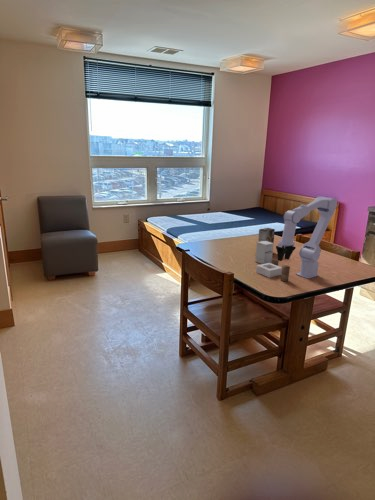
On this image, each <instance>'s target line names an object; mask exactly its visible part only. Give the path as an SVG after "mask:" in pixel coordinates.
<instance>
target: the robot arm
mask: <svg viewBox="0 0 375 500" xmlns="http://www.w3.org/2000/svg"><path fill="white" fill-rule="evenodd" d="M337 201H338V200H337V199H336V198H334V197H327V196H322V195H321V196H320V195H319V196H317V197H315V199H314V200H313V201H311V202H310V203H308V204H300V205H299V206H298V207H296V208H293V209H292V210H290V209H289V210H287V211H285V212H284V215H283V224H284V226H283V231H282V237H281V240H278V243H277V245H275V249H276V252H277V260H278V261H279V262H282V261H283V260H290V258H291V256H292V254H293V252H294V251H295V250H296V248H297V247H296V246H295V244H296V242H295V241H294V239H295V235H296V230H297V225H298V224H297V223H300V221H301V219H303V218H305V217H306V216H308V215H309V214H310V212H311V211H315V210H317V212H318V213H319V214H320V216H319V219H318V221H317V224H316V225H315V227H314V230H313V232H312V234H311V236H310V238H309V240H308V241H307V242H304V243H303V245H302V247H300V249H299V252H298V255H299V257H300V259H301V261H300V269H299V272H297V273H296V275H298V276H300V277H303V278H305V279H311V278H315V277H316V278H317V277H318V276H320V275H319V274H318V273H319V272H318V271H319V267H320V266H319V265H320V264H319V261H318V260H319V259H320V257H321V251H322V249H321V246H320V243H321V241H322V239H323V237H324V234H325V232H326V230H327V228H328V226H329V223H330V221H331V220H332V216H334V214H335V211H336V210H337V207H338V202H337Z"/></svg>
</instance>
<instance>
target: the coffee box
mask: <svg viewBox="0 0 375 500" xmlns="http://www.w3.org/2000/svg"><path fill="white" fill-rule="evenodd" d="M275 229H276V228H270V227H264V228H260V229H259V230H258V241H257V242H261V241H268V242H271V243H274V241H275V231H276V230H275Z"/></svg>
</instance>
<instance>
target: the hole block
mask: <svg viewBox="0 0 375 500" xmlns="http://www.w3.org/2000/svg"><path fill="white" fill-rule="evenodd" d="M255 271H256V274H259V275H262V276H265V277H267V278H268V279H269V278H273V277H277V276H281V271H282V266H280V265H278V266H277V265H274V264H271V263H266V264H257V265H256V269H255Z"/></svg>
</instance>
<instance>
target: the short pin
mask: <svg viewBox="0 0 375 500" xmlns="http://www.w3.org/2000/svg"><path fill="white" fill-rule="evenodd" d="M279 262H280V261H279V260H278V259H272V262H271V264H274V265H277V266H279Z"/></svg>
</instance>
